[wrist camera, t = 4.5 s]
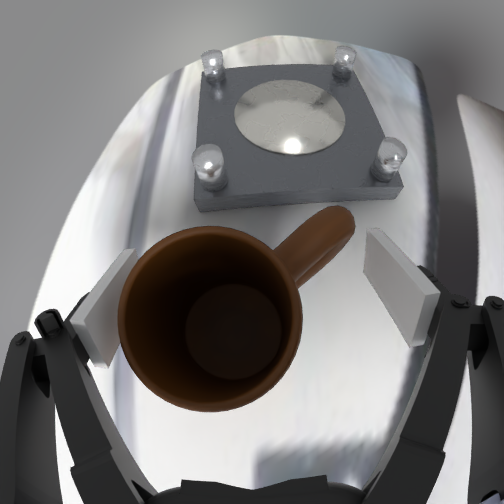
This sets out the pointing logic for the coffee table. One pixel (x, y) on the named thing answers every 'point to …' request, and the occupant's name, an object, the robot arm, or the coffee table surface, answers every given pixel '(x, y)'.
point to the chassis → (289, 136)
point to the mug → (222, 310)
